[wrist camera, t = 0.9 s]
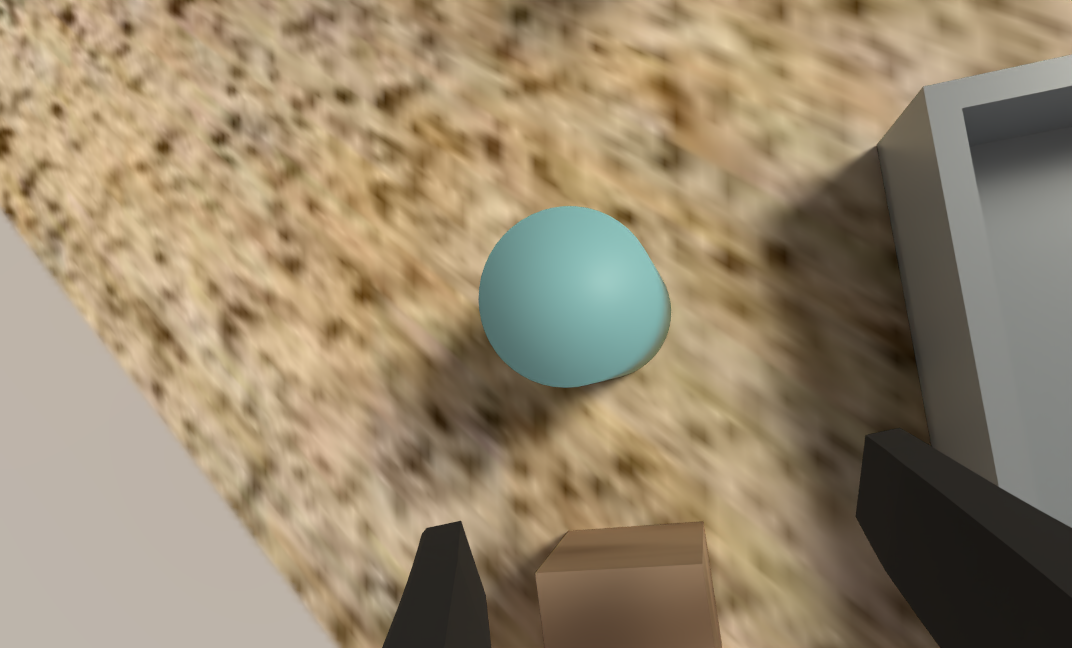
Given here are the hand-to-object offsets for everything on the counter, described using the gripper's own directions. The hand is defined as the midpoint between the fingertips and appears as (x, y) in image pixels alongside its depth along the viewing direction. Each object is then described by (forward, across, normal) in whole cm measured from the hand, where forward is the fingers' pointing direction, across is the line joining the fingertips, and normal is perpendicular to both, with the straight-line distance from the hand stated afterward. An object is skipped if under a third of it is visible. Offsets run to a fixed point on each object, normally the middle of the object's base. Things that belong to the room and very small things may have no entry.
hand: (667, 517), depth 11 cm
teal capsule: (+13, -1, +4) cm, 14 cm away
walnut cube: (+7, 0, +12) cm, 14 cm away
